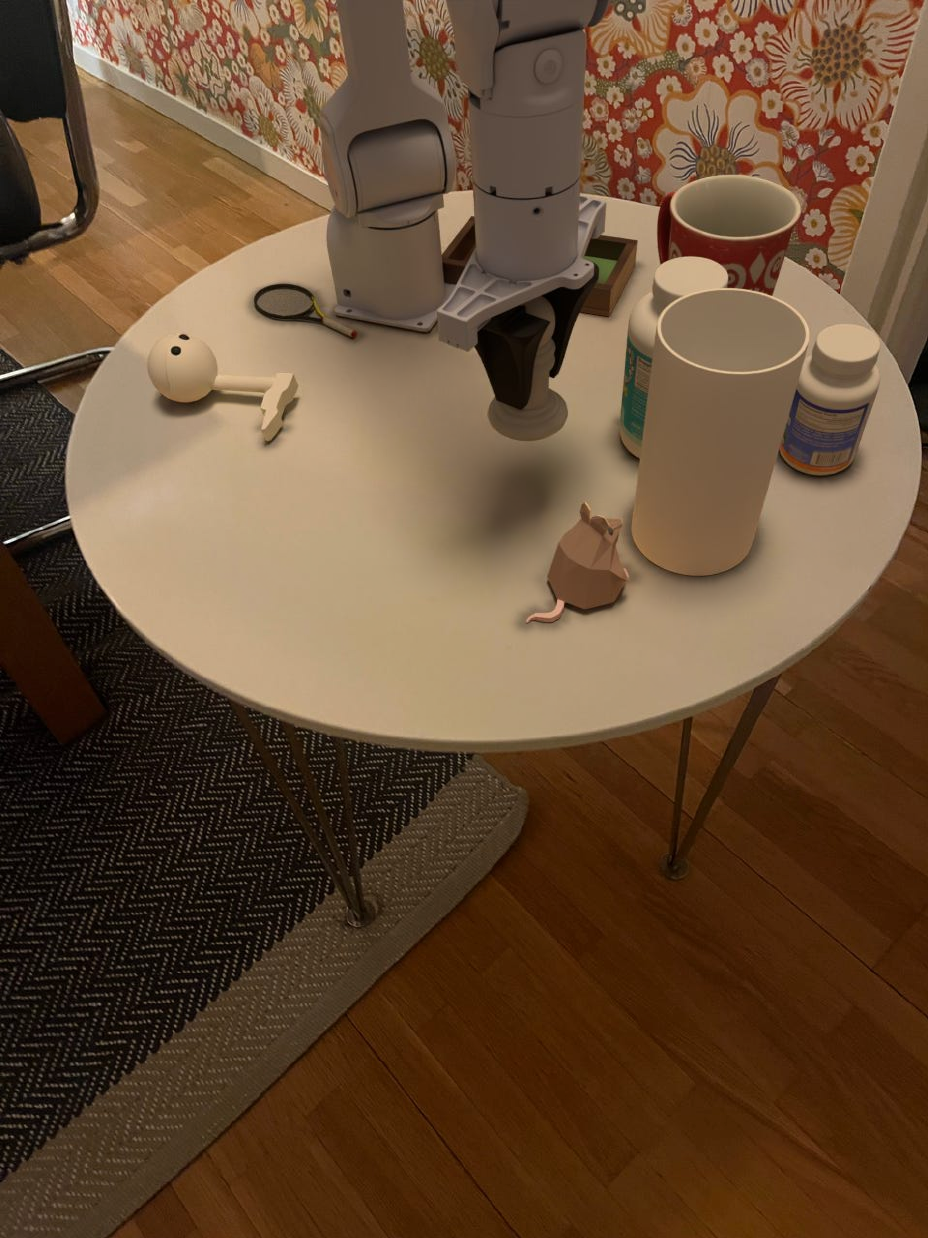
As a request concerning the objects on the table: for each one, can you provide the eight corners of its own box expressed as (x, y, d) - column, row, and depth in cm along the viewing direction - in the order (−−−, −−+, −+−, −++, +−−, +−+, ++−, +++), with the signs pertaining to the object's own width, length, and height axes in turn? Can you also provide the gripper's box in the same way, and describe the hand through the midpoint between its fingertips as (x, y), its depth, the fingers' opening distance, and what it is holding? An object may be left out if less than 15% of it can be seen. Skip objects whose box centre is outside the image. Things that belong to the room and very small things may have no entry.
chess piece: (570, 443, 57) (576, 319, 50) (487, 446, 58) (482, 323, 51) (565, 392, 61) (570, 270, 54) (487, 395, 61) (483, 273, 54)
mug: (785, 382, 70) (829, 217, 60) (684, 413, 69) (712, 249, 58) (702, 302, 78) (729, 143, 68) (610, 329, 76) (623, 170, 66)
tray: (608, 316, 78) (610, 289, 76) (438, 287, 82) (435, 261, 80) (635, 266, 82) (637, 239, 80) (472, 241, 87) (471, 215, 85)
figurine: (150, 316, 72) (287, 321, 69) (178, 366, 76) (307, 373, 74) (112, 390, 68) (256, 398, 65) (143, 438, 72) (279, 447, 70)
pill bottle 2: (798, 418, 67) (826, 306, 60) (867, 443, 65) (906, 330, 57) (764, 460, 65) (789, 349, 57) (835, 488, 63) (870, 376, 55)
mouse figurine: (500, 599, 58) (497, 528, 53) (591, 542, 61) (596, 469, 56) (552, 648, 56) (554, 578, 50) (644, 585, 58) (655, 513, 53)
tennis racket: (240, 298, 82) (280, 274, 84) (242, 305, 82) (282, 281, 85) (332, 344, 76) (373, 317, 78) (334, 351, 77) (374, 324, 79)
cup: (725, 593, 57) (779, 391, 45) (611, 548, 61) (631, 347, 48) (770, 514, 62) (831, 309, 49) (661, 476, 65) (691, 274, 52)
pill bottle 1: (647, 396, 70) (667, 233, 60) (734, 427, 67) (771, 262, 57) (599, 449, 67) (612, 286, 56) (688, 484, 64) (719, 319, 53)
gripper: (512, 257, 41) (516, 473, 52) (660, 134, 48) (637, 348, 59) (395, 219, 44) (422, 432, 55) (551, 109, 51) (547, 317, 62)
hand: (527, 386), depth 57 cm, fingers closed on chess piece, 3 cm apart
